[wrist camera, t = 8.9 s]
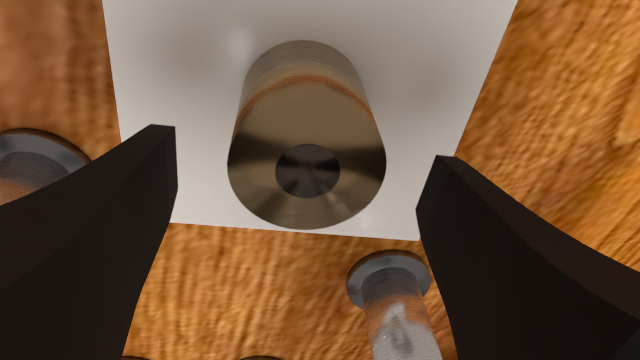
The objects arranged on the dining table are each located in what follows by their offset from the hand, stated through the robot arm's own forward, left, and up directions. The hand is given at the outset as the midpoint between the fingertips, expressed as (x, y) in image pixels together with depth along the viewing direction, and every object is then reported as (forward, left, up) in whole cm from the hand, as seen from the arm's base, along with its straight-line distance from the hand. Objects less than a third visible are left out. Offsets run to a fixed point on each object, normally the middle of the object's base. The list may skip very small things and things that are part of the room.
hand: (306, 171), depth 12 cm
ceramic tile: (0, 0, -5) cm, 5 cm away
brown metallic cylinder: (0, 0, -4) cm, 4 cm away
